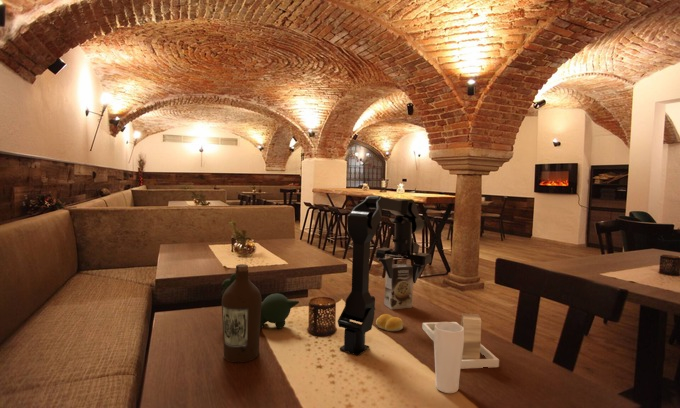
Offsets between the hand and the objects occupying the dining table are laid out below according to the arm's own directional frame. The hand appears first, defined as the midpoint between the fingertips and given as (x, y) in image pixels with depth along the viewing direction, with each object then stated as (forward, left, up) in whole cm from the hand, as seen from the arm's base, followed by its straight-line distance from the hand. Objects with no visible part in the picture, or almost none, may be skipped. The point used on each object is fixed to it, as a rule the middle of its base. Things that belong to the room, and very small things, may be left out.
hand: (402, 280), depth 136 cm
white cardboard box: (+15, +8, -15) cm, 23 cm away
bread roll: (-6, +1, -15) cm, 16 cm away
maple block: (-14, -27, -15) cm, 34 cm away
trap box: (-8, -22, -15) cm, 27 cm away
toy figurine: (-32, +35, -15) cm, 50 cm away
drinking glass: (-33, -28, -15) cm, 46 cm away
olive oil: (-50, +24, -15) cm, 58 cm away
